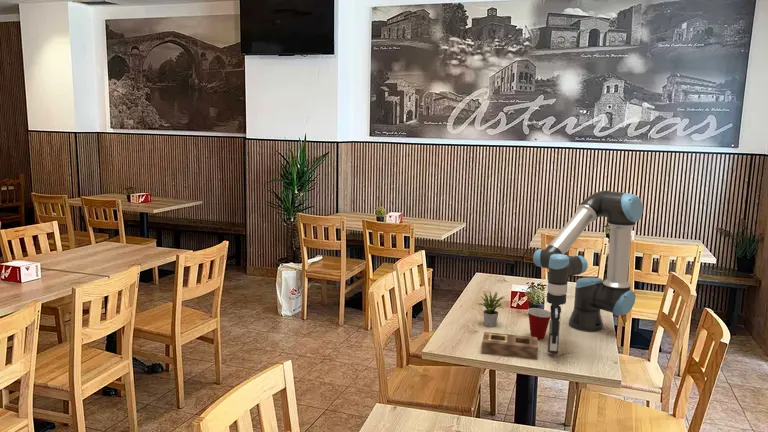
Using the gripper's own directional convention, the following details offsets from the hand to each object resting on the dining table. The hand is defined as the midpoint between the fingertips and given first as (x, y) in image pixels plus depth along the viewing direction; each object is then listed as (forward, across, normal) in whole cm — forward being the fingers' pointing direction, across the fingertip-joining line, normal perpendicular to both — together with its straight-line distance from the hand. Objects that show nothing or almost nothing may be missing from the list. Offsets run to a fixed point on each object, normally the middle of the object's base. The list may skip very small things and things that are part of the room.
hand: (552, 348), depth 245 cm
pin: (+2, 0, 0) cm, 2 cm away
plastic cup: (+4, -20, -5) cm, 21 cm away
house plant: (+3, -29, -26) cm, 39 cm away
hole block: (+3, 0, -17) cm, 17 cm away
